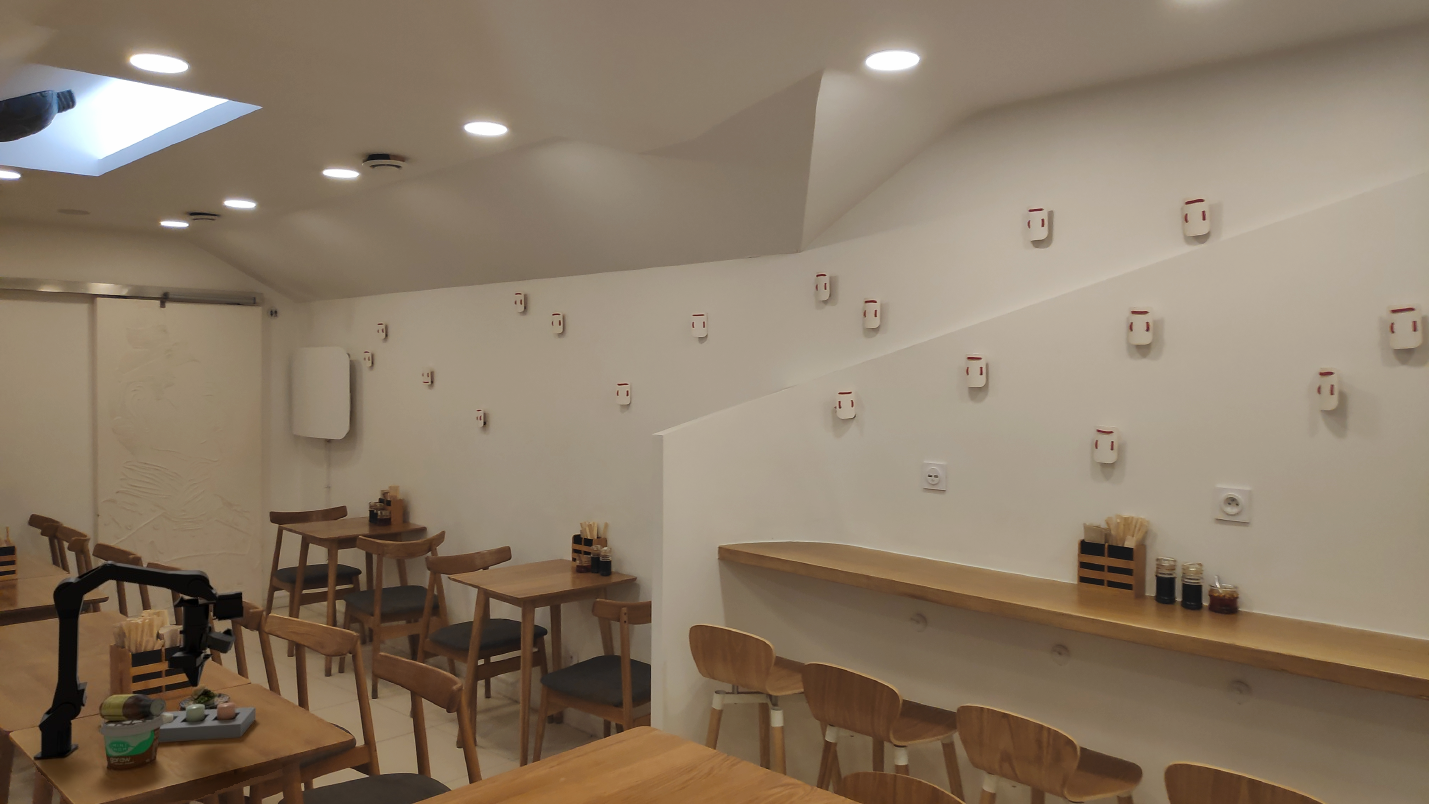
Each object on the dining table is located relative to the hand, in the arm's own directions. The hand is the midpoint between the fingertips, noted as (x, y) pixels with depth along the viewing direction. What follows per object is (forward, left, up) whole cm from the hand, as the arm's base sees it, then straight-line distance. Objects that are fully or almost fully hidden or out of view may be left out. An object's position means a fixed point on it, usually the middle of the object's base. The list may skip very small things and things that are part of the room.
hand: (195, 686), depth 218 cm
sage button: (0, 0, -8) cm, 8 cm away
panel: (0, 0, -11) cm, 11 cm away
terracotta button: (0, -7, -8) cm, 11 cm away
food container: (-20, +7, -11) cm, 24 cm away
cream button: (0, +7, -10) cm, 12 cm away
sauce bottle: (+13, +24, -8) cm, 28 cm away
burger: (+19, +4, -12) cm, 23 cm away
